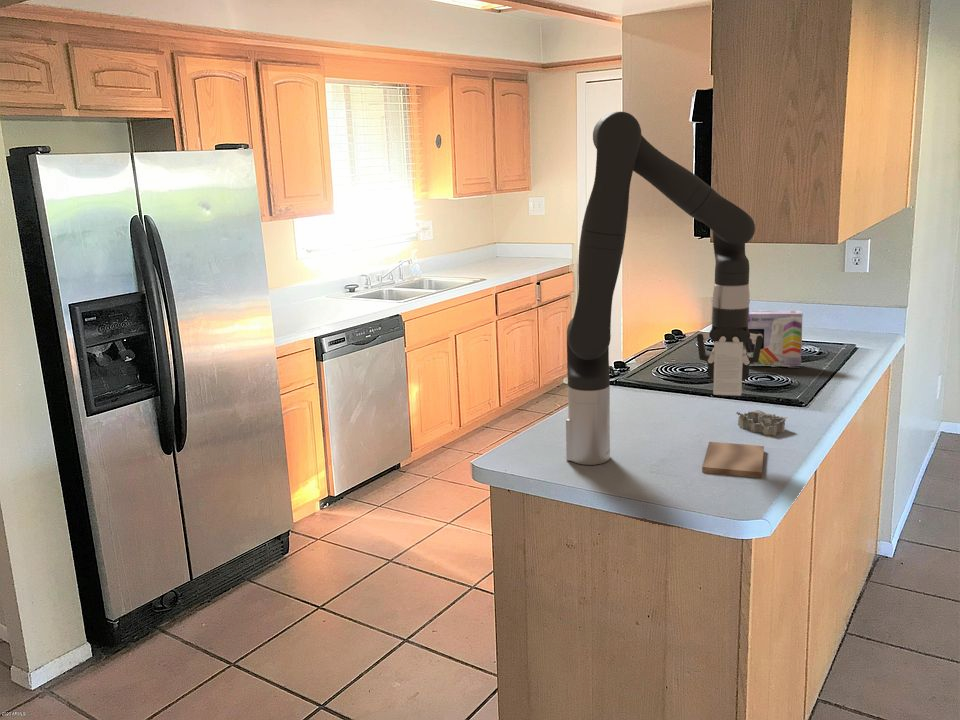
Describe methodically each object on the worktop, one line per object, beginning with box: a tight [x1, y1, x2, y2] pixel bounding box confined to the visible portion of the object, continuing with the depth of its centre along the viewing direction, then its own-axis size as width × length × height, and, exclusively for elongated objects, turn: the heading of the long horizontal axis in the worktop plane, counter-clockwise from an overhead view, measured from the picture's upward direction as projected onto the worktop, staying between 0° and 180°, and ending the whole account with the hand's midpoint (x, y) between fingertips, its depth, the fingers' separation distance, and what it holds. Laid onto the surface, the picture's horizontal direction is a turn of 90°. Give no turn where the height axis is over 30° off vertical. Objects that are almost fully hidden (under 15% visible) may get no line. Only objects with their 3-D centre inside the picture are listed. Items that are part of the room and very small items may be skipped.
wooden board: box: [701, 441, 765, 478], centre depth 175 cm, size 12×16×1 cm
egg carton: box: [735, 409, 788, 436], centre depth 195 cm, size 11×8×4 cm
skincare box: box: [712, 341, 743, 397], centre depth 175 cm, size 6×4×12 cm
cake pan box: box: [743, 309, 803, 366], centre depth 248 cm, size 19×5×18 cm, turn 73°
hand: (728, 379), depth 176 cm, fingers closed on skincare box, 6 cm apart
